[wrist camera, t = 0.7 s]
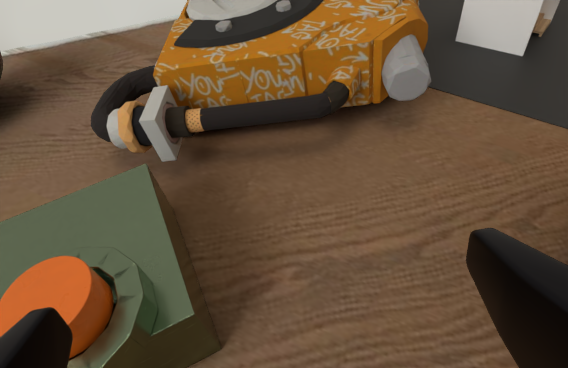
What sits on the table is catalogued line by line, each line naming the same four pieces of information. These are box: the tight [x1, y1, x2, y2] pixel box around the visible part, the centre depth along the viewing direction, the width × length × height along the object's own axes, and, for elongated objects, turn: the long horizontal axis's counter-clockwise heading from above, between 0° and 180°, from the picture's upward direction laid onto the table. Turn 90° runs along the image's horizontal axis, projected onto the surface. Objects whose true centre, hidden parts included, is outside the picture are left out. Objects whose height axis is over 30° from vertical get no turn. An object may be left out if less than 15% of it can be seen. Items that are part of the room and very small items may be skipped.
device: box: [91, 0, 431, 162], centre depth 35 cm, size 23×8×30 cm
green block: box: [0, 164, 221, 368], centre depth 21 cm, size 13×10×7 cm
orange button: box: [0, 256, 114, 359], centre depth 16 cm, size 4×4×2 cm
